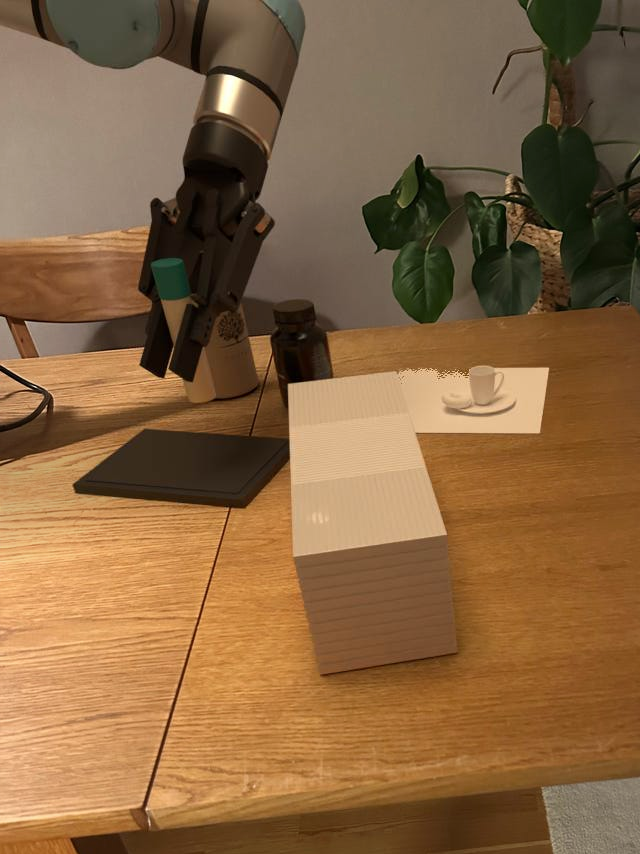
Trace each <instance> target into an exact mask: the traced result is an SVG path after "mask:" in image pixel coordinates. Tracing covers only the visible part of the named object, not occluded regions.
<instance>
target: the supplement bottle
mask: <svg viewBox="0 0 640 854" xmlns="http://www.w3.org/2000/svg"><path fill="white" fill-rule="evenodd" d="M272 313H273V321H274V325H275V326H277V327H275V328H274V330H273V331H272V332H271V334H270V338H269V341H270V347H271V348H270V349H271V353H272V357H273V364H274V368H275V374H276V377H277V383H278V388H279V392H280V397H281V402H282V404H283V406H284V407H285V409H287V410H289V405H288V384H293V383H300V382H309V381H317V380H326V379H334V378H335V376H334V375H335V374H334V369H333V363H332V357H331V351H330V344H329V338H328V333H327V331H326V330H325V328H324V327H323V326H322V325H321V324H319V323H317V322H316V321H317V320H318V319H317V314H316V310H315V304H314V302H313V301H312V300H309V299H304V298H303V299H302V298H295V299H294V298H293V299H287V300H282V301H279V302H276V303H275V304H273V306H272Z"/></svg>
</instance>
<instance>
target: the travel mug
mask: <svg viewBox="0 0 640 854" xmlns="http://www.w3.org/2000/svg"><path fill="white" fill-rule="evenodd" d="M202 256H203V251H201V252H200V254H199V256H198V259H197V261H196V263H195V266H194V268H193V271H192V273H191V276H190V278H189V281H188V282H189V286H190V290H191V295H192V296H193V295H196V293H197V287H198V281H199V275H200V268H201V262H202ZM229 293H230V292H228V294H229ZM193 304H194V305H195V306H196V307H198V304H196V303H195V302H194V301H193ZM204 348H205V352H206V356H207V360H208V364H209V368H210V372H211V376H212V380H213V383H214V387H215V391H216V397H215V398H214V399H213V400H226V399H232V398H238V397H240V396H243V395H247V394H248V393H250V392H251V391H252V390H254V389H255V388H257V387H258V385H259V383H260V382H259V375H258V371H257V367H256V363H255V359H254V354H253V350H252V345H251V341H250V335H249V331H248V327H247V323H246V318H245V314H244V309H243V305H242V301H241V302H240V305H239V308H238V310H237V311H236V312H234V313H231V312H229V311H226V312H222V313H221V314H220V316H218V317H216V320H215V324H214V327H213V331H212V334H211V338H210V341H209V344H208V345H207V347H204Z"/></svg>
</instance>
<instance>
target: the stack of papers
mask: <svg viewBox="0 0 640 854" xmlns="http://www.w3.org/2000/svg"><path fill="white" fill-rule="evenodd" d="M397 375H398V373H397V370H393V371H383V372H376V373H369V374H368V373H367V374H361V375H352V376H351V375H350V376H343V377H334V379H326V380H317V381H309V382H300V383H293V384H288V405H289V409H288V432H289V434H288V435H289V436H288V437H289V438H288V439H290V459H289V465H290V466H289V467H290V468H289V469H290V471H289V472H290V501H291V532H292V536H291V537H292V559H293V563H294V567H295V573H296V576H297V579H298V585H299V589H300V594H301V599H302V602H303V606H304V611H305V615H306V620H307V624H308V629H309V634H310V639H311V643H312V648H313V652H314V654H315V660H316V664H317V669H318V674H319V676H320V675H322V676H323V675H327V674H332V673H339V672H340V673H341V672H345V671H351V670H357V669H358V670H359V669H365V668H370V667H371V668H372V667H377V666H383V665H390V664H394V663H402V662H408V661H414V660H421V659H426V658H433V657H439V656H445V655H451V654H457V653H459V652H458V643H457V633H456V623H455V622H456V619H455V612H454V611H455V609H454V607H455V606H454V597H453V591H452V590H453V587H452V585H453V584H452V575H451V574H452V573H451V564H450V563H451V562H450V551H449V541H448V540H449V538H448V533H447V529H446V527H445V524H444V523H445V522H444V519H443V517H442V514H441V511H440V508H439V504H438V501H437V498H436V494H435V491H434V488H433V485H432V481H431V479H430V475H429V471H428V469H427V465H426V463H425V459H424V456H423V453H422V449H421V446H420V442H419V440H418V436H417V433H415V430H414V427H413V424H412V420H411V417H410V414H409V411H408V408H407V404H406V401H405V398H404V395H403V392H402V388H401V385H400V382H399V379H398V376H397Z"/></svg>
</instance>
